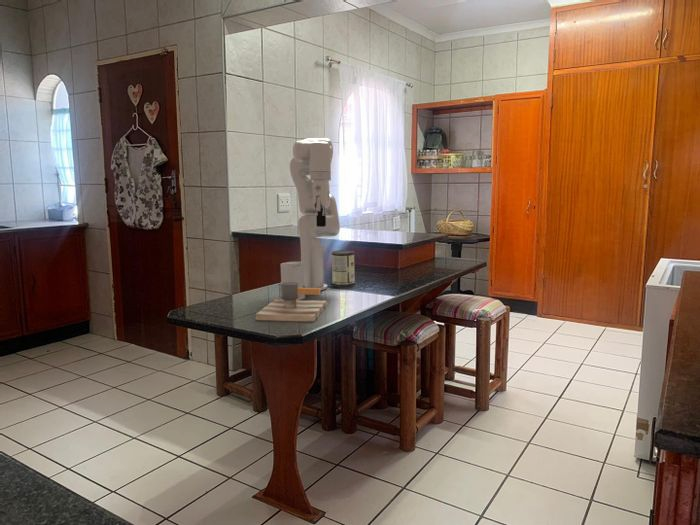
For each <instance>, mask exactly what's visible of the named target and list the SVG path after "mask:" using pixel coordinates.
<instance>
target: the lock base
mask: <svg viewBox="0 0 700 525" xmlns="http://www.w3.org/2000/svg"><path fill="white" fill-rule="evenodd" d="M327 306H328V303H327V300H314V299H313V300H307V299H306V300H305V299H301V300H296V299H294V300H282V299H273V300H272V301H271V302H269V303H268V304H267V305H266V306H264V307H263V308H262V309H261V310H259V311H257V312H256V314H255V320H256V321H275V322H276V321H277V322H279V321H280V322H281V321H283V322H286V321H287V322H313V323H314V322H315V321H316V320H317V319H318V317H319V316H320V315H321V314H322V312H323V311H324V310H325V309H326V307H327Z"/></svg>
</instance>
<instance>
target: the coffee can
mask: <svg viewBox="0 0 700 525" xmlns="http://www.w3.org/2000/svg"><path fill="white" fill-rule="evenodd" d="M331 270H332V271H331V272H332V273H331V275H332V277H331V278H332V284H333V285H339V286H340V285H341V286H342V285H343V286H344V285H347V286H348V285H353V284H355V283H356V282H355V277H356V275H355V251H354V250H348V249H344V250H343V249H342V250H341V249H340V250H334V251H331Z"/></svg>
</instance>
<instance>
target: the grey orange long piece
mask: <svg viewBox="0 0 700 525" xmlns="http://www.w3.org/2000/svg"><path fill="white" fill-rule="evenodd" d="M321 292H322V290H321V289H320V288H301V287H298V283H294V282H288V283H282V284H281V283H280V296H281V297H280V300H282V299H284V300H294V299H298V294H305V295H313V296H317V295H318V296H320V295H321V294H322V293H321Z"/></svg>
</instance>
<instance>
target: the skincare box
mask: <svg viewBox="0 0 700 525" xmlns="http://www.w3.org/2000/svg"><path fill="white" fill-rule="evenodd" d="M288 282H294V283H298V287H301V288H305V283H304V262H301V261H287V262H286V261H285V262H282V263H280V285H281V284H282V283H288ZM305 299H306V294H298V299H296V300H305ZM281 300H284V299H281Z"/></svg>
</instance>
